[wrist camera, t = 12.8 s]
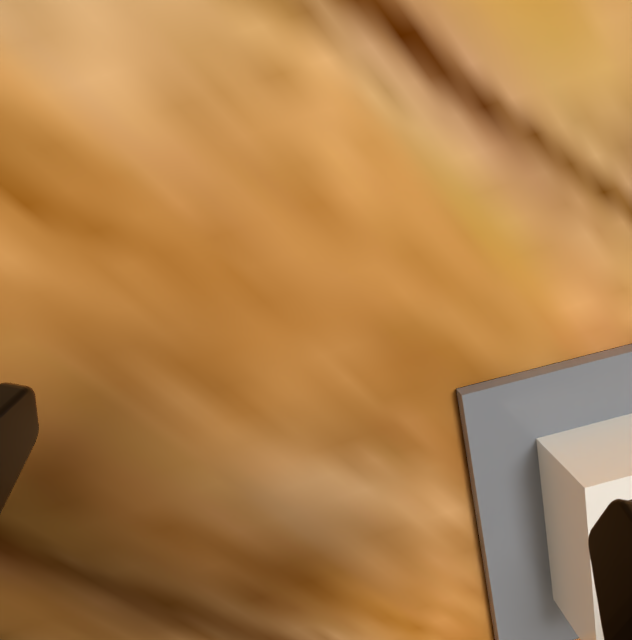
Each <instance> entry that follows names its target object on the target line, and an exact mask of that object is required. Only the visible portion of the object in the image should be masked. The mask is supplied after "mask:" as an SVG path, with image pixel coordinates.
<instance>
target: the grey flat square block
mask: <svg viewBox="0 0 632 640" xmlns="http://www.w3.org/2000/svg"><path fill="white" fill-rule="evenodd" d="M456 391H457V397H458V404H459V410H460V417H461V423H462V429H463V436H464V442H465V449H466V455H467V462H468V468H469V475H470V481H471V487H472V494H473V500H474V507H475V513H476V520H477V526H478V533H479V539H480V545H481V552H482V558H483V565H484V571H485V578H486V584H487V591H488V597H489V603H490V610H491V616H492V623H493V629H494V636H495V640H574V639H578V638H580V640H604V636H603V631H602V626H601V620H600V614H599V608H598V602H597V596H596V590H595V584H594V578H593V572H592V566H591V560H590V554H589V547H588V538H589V534H590V531H591V529H592V527H593V526H594V525H595V523H596V522H597V520H598V519H599V518H600V516H601V515H602V513H603V512H604V511H605V509H606V508H607V506H608V505H609V504H610V503H611V502H612V501H613V500H615V499H623V500H631V499H632V344H629V345H625V346H621V347H617V348H613V349H610V350H606V351H602V352H598V353H594V354H590V355H586V356H582V357H578V358H575V359H571V360H567V361H563V362H559V363H555V364H551V365H547V366H543V367H540V368H536V369H532V370H528V371H524V372H520V373H516V374H512V375H508V376H504V377H501V378H497V379H493V380H489V381H485V382H481V383H477V384H473V385H469V386H466V387H462V388H458V389H456Z"/></svg>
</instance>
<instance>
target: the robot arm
mask: <svg viewBox="0 0 632 640" xmlns="http://www.w3.org/2000/svg"><path fill="white" fill-rule="evenodd" d="M38 430H39V424H38V416H37V408H36V400H35V394H34V391H33V390H32V388H30V387H28V386H23V385H18V384H12V383H1V384H0V513H1V511H2V509H3V507H4V505H5V503H6V501H7V499H8V497H9V495H10V493H11V491H12V489H13V487H14V485H15V483H16V481H17V479H18V476H19V474H20V472H21V470H22V468H23V466H24V464H25V462H26V460H27V458H28V456H29V454H30V452H31V450H32V448H33V446H34V444H35V442H36V439H37V436H38ZM588 547H589V554H590V560H591V566H592V572H593V578H594V584H595V590H596V596H597V602H598V608H599V614H600V620H601V626H602V631H603V636H604V640H632V501H629V500H623V499H615V500H613V501H612V502H611V503H610V504H609V505H608V506H607V508H606V509H605V511H604V512H603V513H602V515H601V516H600V518H599V519H598V520H597V522H596V523H595V525H594V526H593V527H592V529H591V531H590V534H589V538H588Z"/></svg>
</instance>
